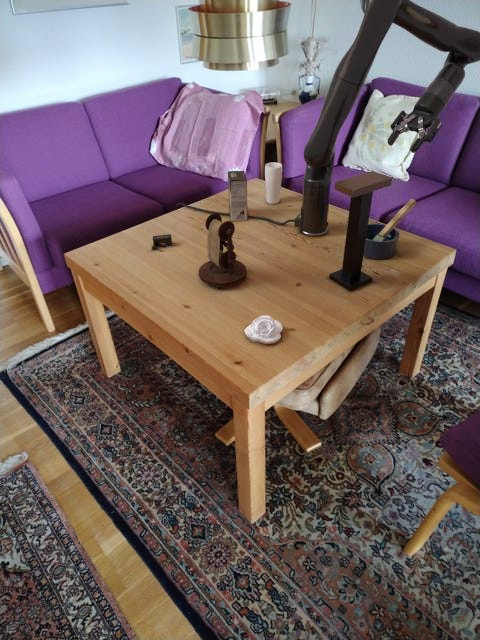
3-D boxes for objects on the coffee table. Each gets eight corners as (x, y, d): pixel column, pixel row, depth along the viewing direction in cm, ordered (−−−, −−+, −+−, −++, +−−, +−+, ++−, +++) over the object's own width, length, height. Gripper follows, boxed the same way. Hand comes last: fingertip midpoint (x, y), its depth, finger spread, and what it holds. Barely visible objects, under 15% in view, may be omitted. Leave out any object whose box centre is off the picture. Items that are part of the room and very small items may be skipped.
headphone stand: (356, 266, 149) (370, 169, 131) (377, 279, 143) (395, 179, 125) (322, 280, 143) (332, 181, 125) (343, 294, 137) (356, 191, 118)
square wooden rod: (410, 201, 157) (409, 197, 156) (418, 204, 155) (417, 200, 154) (366, 249, 157) (364, 246, 156) (373, 253, 155) (371, 250, 153)
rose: (272, 305, 126) (290, 325, 119) (272, 318, 128) (289, 338, 121) (238, 315, 123) (255, 336, 115) (238, 329, 125) (255, 350, 118)
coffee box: (228, 211, 185) (227, 170, 175) (245, 210, 185) (244, 169, 176) (230, 221, 178) (229, 179, 168) (247, 220, 178) (247, 178, 168)
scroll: (190, 275, 148) (184, 215, 136) (229, 260, 154) (226, 202, 142) (216, 296, 138) (212, 234, 126) (256, 279, 145) (256, 219, 133)
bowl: (353, 257, 154) (355, 239, 150) (357, 239, 164) (359, 221, 160) (395, 262, 151) (399, 244, 147) (396, 243, 161) (399, 225, 157)
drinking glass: (280, 205, 188) (281, 168, 179) (263, 204, 189) (263, 167, 180) (282, 199, 193) (283, 162, 184) (266, 198, 195) (266, 161, 186)
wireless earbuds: (151, 244, 164) (150, 236, 162) (171, 242, 165) (170, 234, 163) (152, 251, 161) (150, 242, 159) (172, 248, 162) (171, 240, 160)
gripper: (410, 87, 139) (377, 134, 141) (451, 95, 130) (415, 146, 132) (418, 103, 145) (386, 149, 147) (459, 112, 135) (424, 161, 137)
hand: (400, 147), depth 139 cm, fingers open, 8 cm apart
